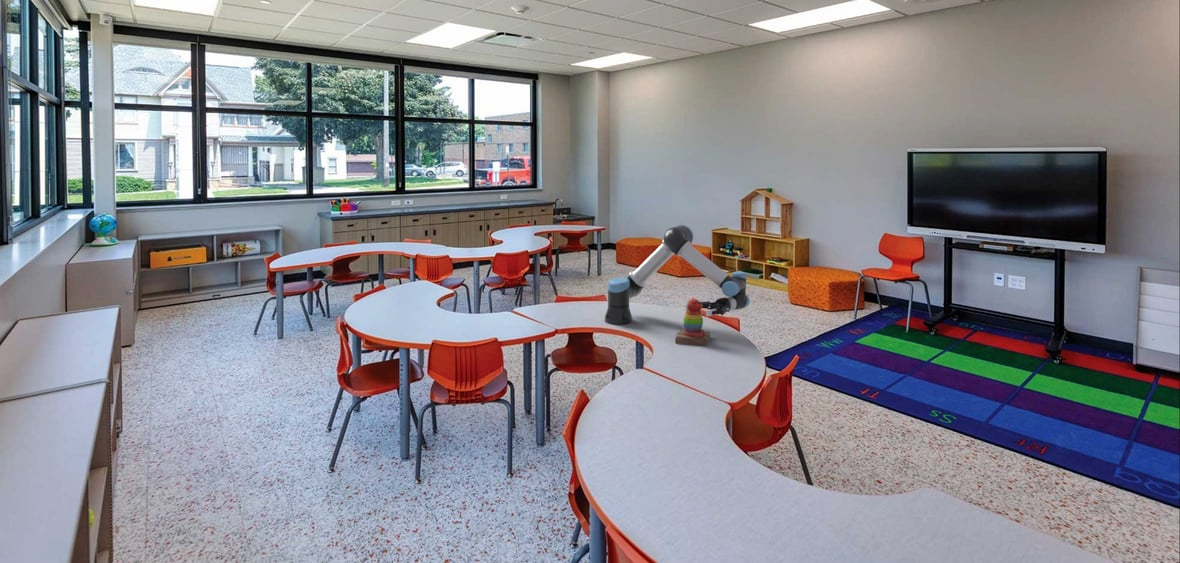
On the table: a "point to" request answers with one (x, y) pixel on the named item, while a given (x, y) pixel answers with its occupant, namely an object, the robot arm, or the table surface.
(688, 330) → the stacking bear
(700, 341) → the walnut plinth
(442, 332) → the table surface
